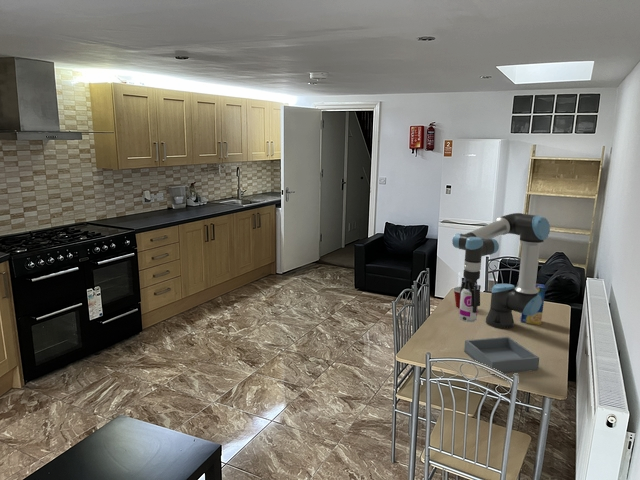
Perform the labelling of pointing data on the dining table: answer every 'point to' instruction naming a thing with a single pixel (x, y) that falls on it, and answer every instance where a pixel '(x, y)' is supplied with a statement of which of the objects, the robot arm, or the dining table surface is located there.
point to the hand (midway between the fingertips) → (468, 315)
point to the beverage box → (538, 316)
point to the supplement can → (466, 306)
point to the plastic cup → (457, 296)
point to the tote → (502, 354)
